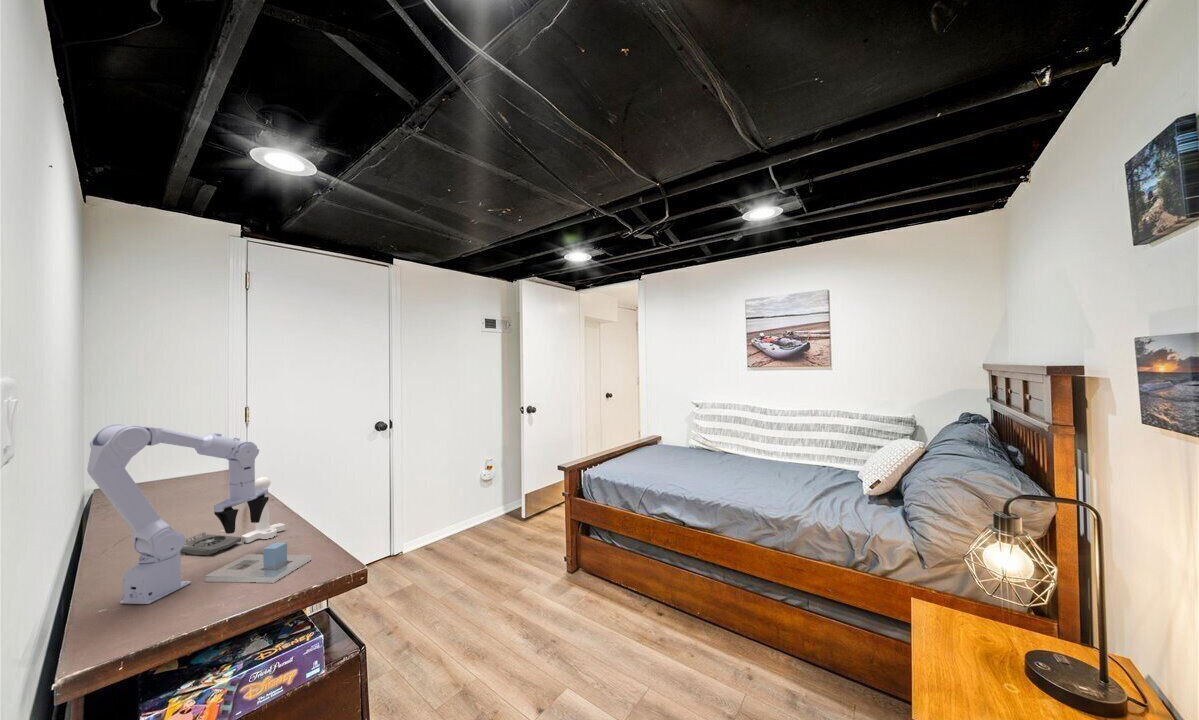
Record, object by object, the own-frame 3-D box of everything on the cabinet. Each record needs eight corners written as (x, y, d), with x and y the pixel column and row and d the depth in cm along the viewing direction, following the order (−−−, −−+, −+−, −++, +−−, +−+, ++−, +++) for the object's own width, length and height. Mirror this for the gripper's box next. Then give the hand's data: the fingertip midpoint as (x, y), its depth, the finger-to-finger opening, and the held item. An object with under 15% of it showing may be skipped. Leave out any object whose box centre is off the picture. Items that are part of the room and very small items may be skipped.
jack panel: (273, 583, 104) (273, 577, 104) (204, 581, 106) (204, 575, 106) (310, 560, 116) (310, 555, 116) (248, 559, 118) (248, 554, 118)
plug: (275, 574, 109) (275, 548, 109) (263, 574, 109) (263, 548, 109) (287, 567, 112) (286, 542, 112) (275, 567, 113) (275, 542, 113)
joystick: (277, 529, 140) (276, 472, 140) (291, 531, 137) (289, 474, 138) (239, 542, 130) (238, 481, 130) (252, 545, 127) (251, 483, 127)
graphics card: (158, 548, 120) (204, 530, 132) (158, 560, 120) (204, 541, 132) (202, 552, 117) (245, 533, 129) (202, 564, 117) (245, 545, 129)
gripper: (229, 489, 111) (230, 538, 111) (276, 474, 125) (277, 518, 125) (206, 489, 111) (207, 538, 111) (256, 474, 126) (256, 517, 126)
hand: (243, 527), depth 118 cm, fingers open, 7 cm apart
